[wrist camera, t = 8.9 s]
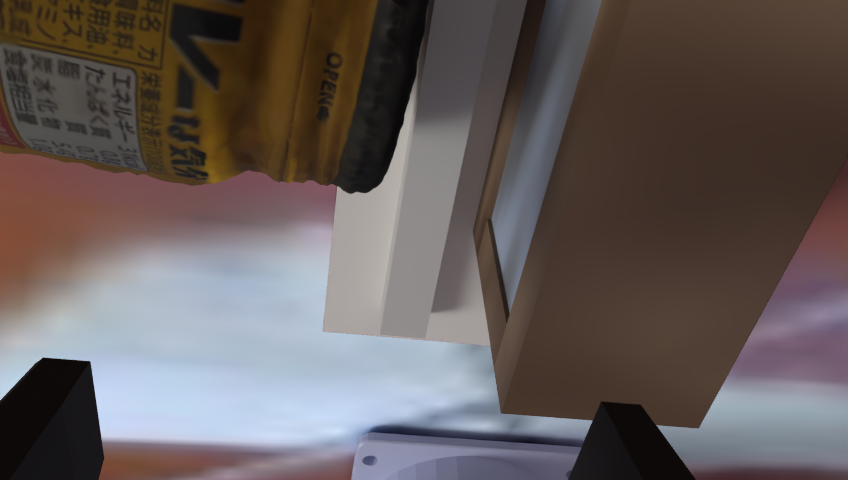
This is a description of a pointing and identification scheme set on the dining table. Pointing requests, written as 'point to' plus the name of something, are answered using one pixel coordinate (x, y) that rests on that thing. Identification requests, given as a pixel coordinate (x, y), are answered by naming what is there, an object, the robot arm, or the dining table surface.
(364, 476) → the robot arm
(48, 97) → the condiment
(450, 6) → the notch ledge
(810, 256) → the dining table surface
